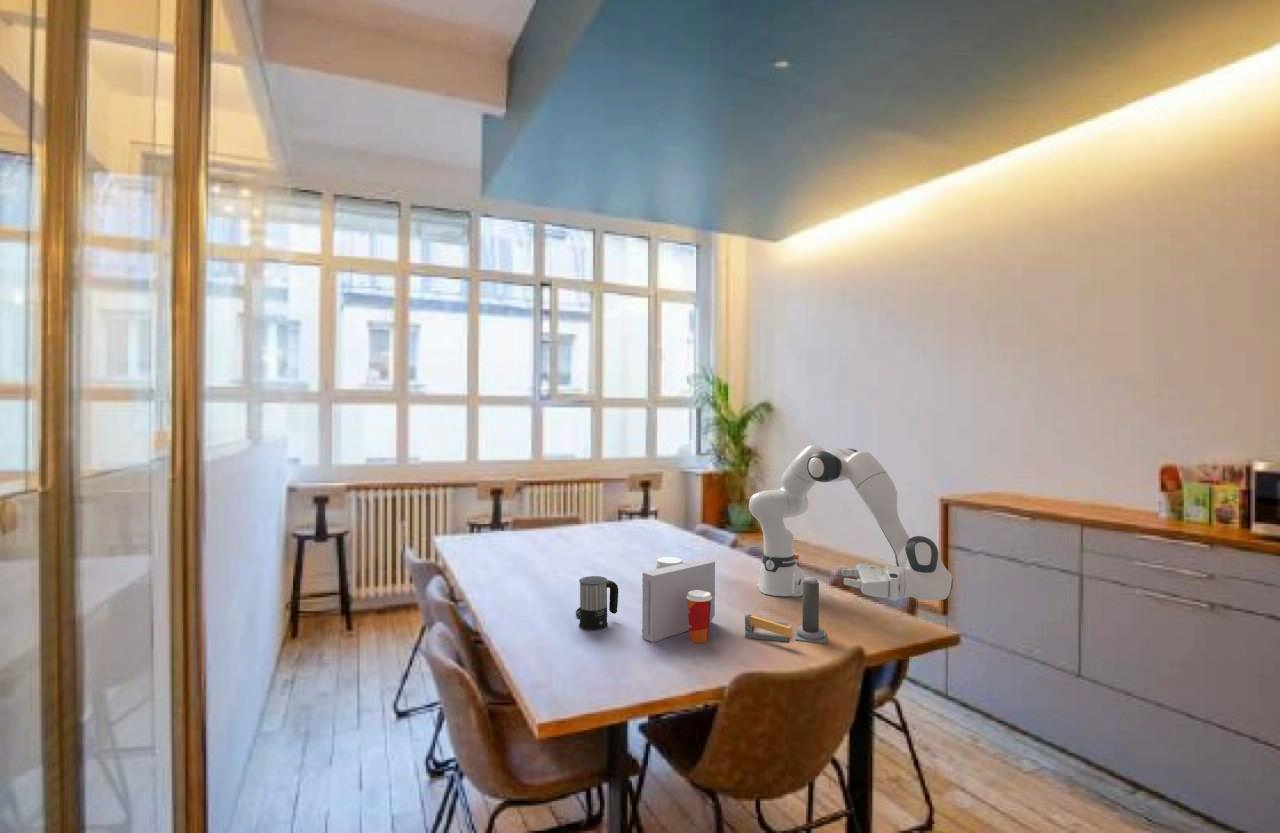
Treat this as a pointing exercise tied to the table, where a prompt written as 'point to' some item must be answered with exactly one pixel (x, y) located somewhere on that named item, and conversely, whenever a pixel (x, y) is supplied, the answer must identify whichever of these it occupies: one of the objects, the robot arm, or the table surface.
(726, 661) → the table surface
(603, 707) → the table surface
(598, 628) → the milk frother
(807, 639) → the pad
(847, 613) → the table surface
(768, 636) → the gray angle bracket
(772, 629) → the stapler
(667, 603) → the game console
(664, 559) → the supplement tub
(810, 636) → the plug
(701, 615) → the paper cup
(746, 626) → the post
